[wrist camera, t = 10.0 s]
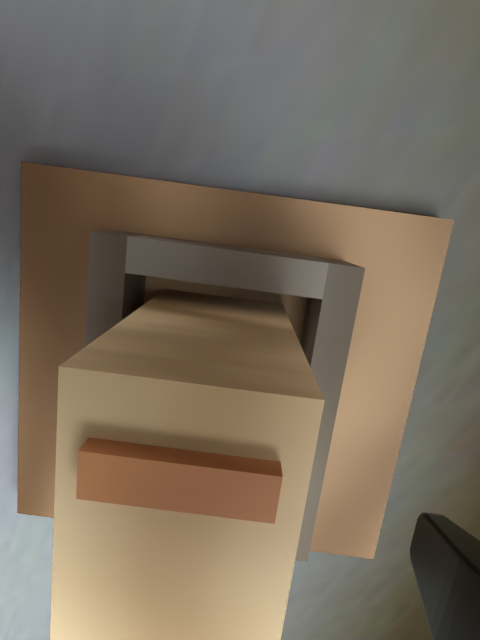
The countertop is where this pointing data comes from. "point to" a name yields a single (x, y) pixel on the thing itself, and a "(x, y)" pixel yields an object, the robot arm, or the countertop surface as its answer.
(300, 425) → the keyed block
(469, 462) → the countertop surface
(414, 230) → the holder
